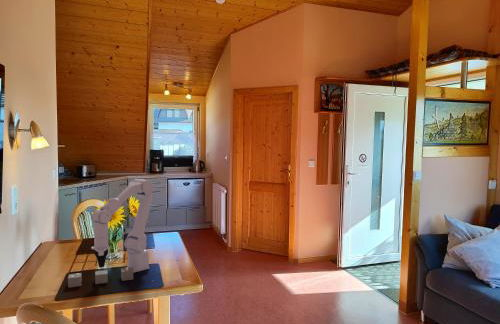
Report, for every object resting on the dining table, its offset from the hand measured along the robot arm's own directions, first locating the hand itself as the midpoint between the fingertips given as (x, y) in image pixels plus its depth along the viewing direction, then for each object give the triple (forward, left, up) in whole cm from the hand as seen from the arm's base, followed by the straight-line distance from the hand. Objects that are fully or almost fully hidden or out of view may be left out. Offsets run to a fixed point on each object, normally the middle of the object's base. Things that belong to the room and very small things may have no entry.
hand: (101, 266), depth 161 cm
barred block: (-10, +4, -6) cm, 13 cm away
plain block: (0, 0, -7) cm, 7 cm away
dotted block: (+10, -4, -6) cm, 13 cm away
